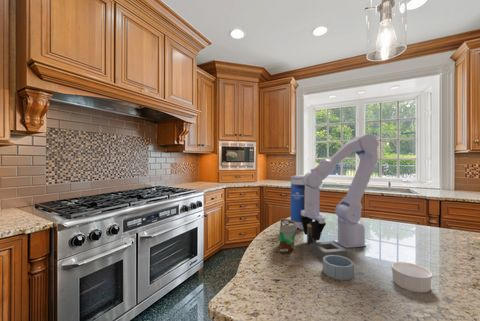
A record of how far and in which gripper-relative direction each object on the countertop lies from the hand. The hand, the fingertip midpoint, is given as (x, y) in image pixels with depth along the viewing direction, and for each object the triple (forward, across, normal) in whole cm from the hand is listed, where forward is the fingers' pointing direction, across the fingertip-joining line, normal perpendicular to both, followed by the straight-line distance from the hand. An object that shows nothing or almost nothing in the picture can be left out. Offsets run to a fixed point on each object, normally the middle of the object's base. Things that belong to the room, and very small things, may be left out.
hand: (311, 236), depth 91 cm
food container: (+3, +3, -11) cm, 12 cm away
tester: (+3, +11, 0) cm, 11 cm away
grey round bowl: (+3, +23, -5) cm, 24 cm away
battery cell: (+3, 0, 0) cm, 3 cm away
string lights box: (+3, -25, +9) cm, 26 cm away
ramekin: (+3, +33, +10) cm, 35 cm away
